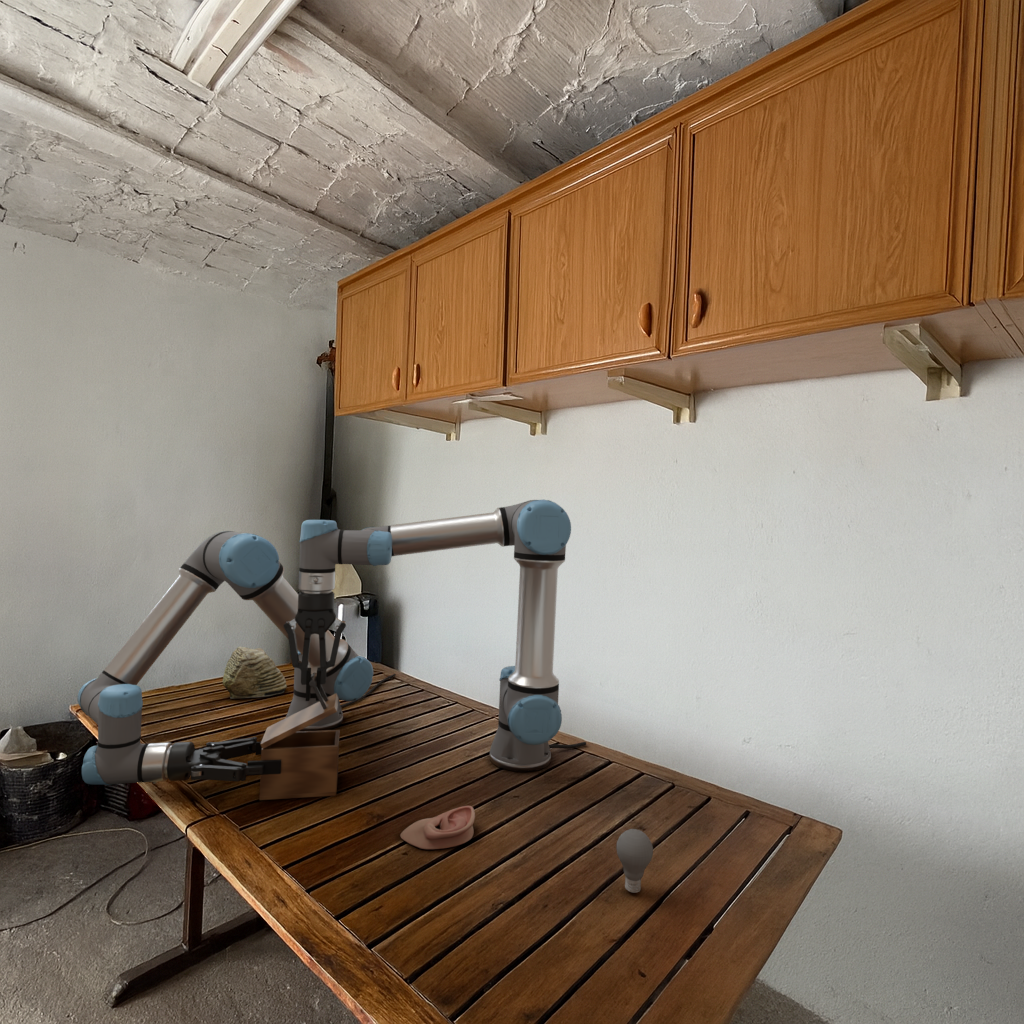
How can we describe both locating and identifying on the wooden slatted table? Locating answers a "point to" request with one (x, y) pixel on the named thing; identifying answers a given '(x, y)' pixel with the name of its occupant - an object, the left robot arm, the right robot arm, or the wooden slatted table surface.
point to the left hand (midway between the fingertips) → (284, 756)
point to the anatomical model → (442, 829)
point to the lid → (302, 716)
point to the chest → (302, 766)
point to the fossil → (252, 674)
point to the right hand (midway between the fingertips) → (312, 698)
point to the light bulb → (634, 857)
